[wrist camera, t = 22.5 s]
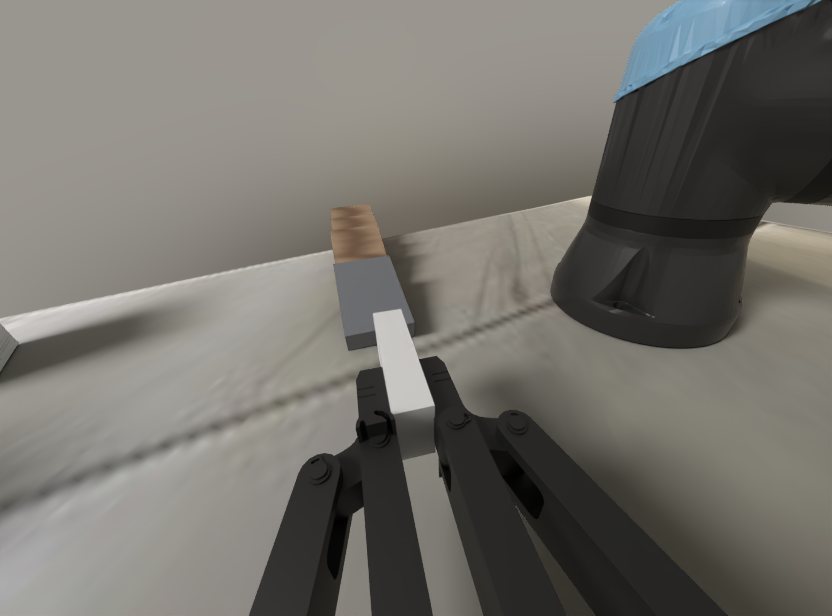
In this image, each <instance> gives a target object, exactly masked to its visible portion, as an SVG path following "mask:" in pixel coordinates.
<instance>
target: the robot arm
mask: <svg viewBox="0 0 832 616" xmlns="http://www.w3.org/2000/svg"><path fill="white" fill-rule="evenodd" d="M614 103H616V106H615V110H614V114H613V118H612V123H611V126H610V130H609V134H608V138H607V142H606V145H605V150H604V153H603V157H602V161H601V165H600V168H599V172H598V176H597V179H596V183H595V187H594V191H593V194H592V198H591V202H590V206H589V210H588V214H587V217H586V220H585V223H584V224H583V226H582V228H581V229H580V231H579V232H578V234H577V236H576V237H575V239H574V240H573V242H572V243H571V245H570V247H569V248H568V250H567V252H566V253H565V255H564V257H563V258H562V260H561V262H560V263H559V264H558V266H557V267H556V269H555V272H554V276H553V280H552V285H551V296H552V298H553V300H554V302H555V303H556V304H557V305H558V306H559V307H560V308H561V309H562V310H563V311H564V312H565V313H566V314H568V315H569V316H571V317H572V318H574V319H575V320H577V321H579V322H580V323H582V324H584V325H586V326H588V327H590V328H593V329H595V330H597V331H600V332H602V333H605V334H608V335H611V336H614V337H617V338H620V339H624V340H628V341H632V342H636V343H641V344H646V345H653V346H661V347H674V348H688V347H699V346H705V345H709V344H712V343H715V342H718V341H720V340H721V339H723V338H724V337H725V336H726V335H727V334H728V332H729V330H730V329H731V327H732V326H733V324H734V323H735V321H736V319H737V318H738V316H739V314H740V312H741V308H742V300H741V296H740V294H741V290H742V285H743V279H744V273H745V266H746V258H747V250H748V244H749V241H750V239H751V237H752V235H753V233H754V231H755V229H756V228H757V226H758V224H759V222H760V220H761V219H762V217H763V215H764V213H765V212H766V211H767V209H768V208H769V207H770V205H771V204H772V203H776V202H784V203H800V204H814V205H827V206H828V205H829V206H832V0H681V1H679V2H677V3H675V4H673V5H672V6H670V7H668V8H667V9H665V10H664V11H662V12H661V13H660V14H658V15H657V16H656V17H655V18H654V19H652V20H651V21H650V22H649V23H648V24H647V25H646V26H645V28H644V29H643V30H642V31H641V33H640V34H639V35H638V37H637V39H636V40H635V42H634V45H633V47H632V50H631V54H630V56H629V60H628V63H627V66H626V69H625V73H624V76H623V79H622V82H621V86H620V89H619V92H618V93H617V94H616V95H615V97H614ZM373 318H374V325H375V332H376V339H377V346H378V353H379V359H380V364H381V367H379V368H373V369H368V370H363V371H360V373H359V375H358V377H357V379H356V385H357V398H358V412H359V419H358V420H357V423H356V431H357V436H358V437H357V439H356V440H355V442H354V443H353V444H352V445H351V446H350V447H349V448H347V449H346V450H344V451H343V452H341V453H339V454H337V455H335V456H333V455H332V454H326V453H323V454H318V455H316V456H314V457H312V458H310V459H309V460H308V461H307V462H306V463H305V464H304V465H303V466H302V468H301V470H300V472H299V474H298V476H297V479H296V482H295V485H294V488H293V491H292V494H291V496H290V499H289V502H288V505H287V508H286V511H285V514H284V517H283V519H282V522H281V525H280V528H279V531H278V534H277V537H276V539H275V542H274V545H273V548H272V551H271V554H270V557H269V560H268V562H267V565H266V568H265V571H264V574H263V577H262V580H261V582H260V585H259V588H258V591H257V594H256V597H255V600H254V603H253V605H252V608H251V611H250V614H249V616H335V612H336V606H337V601H338V595H339V589H340V584H341V578H342V572H343V566H344V561H345V555H346V549H347V543H348V538H349V532H350V526H351V521H352V515H353V513H355V512H356V511H358V510H359V509H361V508H362V507H364V515H365V528H366V542H367V556H368V569H369V583H370V597H371V610H372V616H433V614H432V608H431V603H430V598H429V593H428V588H427V583H426V578H425V573H424V568H423V563H422V558H421V553H420V548H419V543H418V538H417V533H416V528H415V523H414V518H413V512H412V507H411V502H410V497H409V492H408V487H407V482H406V477H405V472H404V467H403V462H402V460H405V459H409V458H413V457H417V456H421V455H425V454H430V453H434V452H435V446H436V449H437V453H438V456H439V478H440V477H443V481H444V484H445V487H446V491H447V494H448V497H449V501H450V504H451V507H452V511H453V514H454V518H455V521H456V524H457V528H458V531H459V534H460V538H461V541H462V544H463V548H464V551H465V555H466V558H467V561H468V565H469V568H470V571H471V575H472V578H473V581H474V585H475V588H476V592H477V595H478V598H479V602H480V605H481V608H482V612H483V615H484V616H566V614H565V612H564V609H563V607H562V605H561V603H560V601H559V599H558V597H557V594H556V592H555V590H554V588H553V586H552V584H551V582H550V579H549V577H548V575H547V573H546V571H545V569H544V567H543V564H542V562H541V560H540V558H539V556H538V554H537V552H536V549H535V547H534V545H533V543H532V541H531V539H530V537H529V534H528V532H527V530H526V528H525V526H524V524H523V522H522V519H521V517H520V515H519V513H518V511H517V509H516V507H515V504H516V506H517V507H518V508H519V510H520V511H521V513H522V514H523V515H524V517H525V518H526V520H527V521H528V522H529V524H530V525H531V526H532V528H533V529H534V531H535V532H536V533H537V535H538V536H539V537H540V539H541V540H542V542H543V543H544V544H545V546H546V547H547V548H548V550H549V551H550V553H551V554H552V555H553V557H554V558H555V559H556V561H557V562H558V564H559V565H560V566H561V568H562V569H563V571H564V572H565V573H566V575H567V576H568V577H569V579H570V580H571V582H572V583H573V584H574V586H575V587H576V588H577V590H578V591H579V593H580V594H581V595H582V597H583V598H584V599H585V601H586V602H587V604H588V605H589V606H590V608H591V609H592V610H593V612H594V613H595V615H596V616H728V615H727V614H726V613H725V612H724V611H723V610H722V609H721V608H720V607H719V606H718V605H717V604H716V603H715V602H714V601H713V600H712V599H711V598H710V597H709V596H708V595H707V594H706V593H705V592H704V591H703V590H702V589H701V588H700V587H699V586H698V585H697V584H696V583H695V582H694V581H693V580H692V579H691V578H690V577H689V576H688V575H687V574H686V573H685V572H684V571H683V570H682V569H681V568H680V567H679V566H678V565H677V564H676V563H675V562H674V561H673V560H672V559H671V558H670V557H669V556H668V555H667V554H666V553H665V552H664V551H663V550H662V549H661V548H660V547H659V546H658V545H657V544H656V543H655V542H654V541H653V540H652V539H651V538H650V537H649V536H648V535H647V534H646V533H645V532H644V531H643V530H642V529H641V528H640V527H639V526H638V525H637V524H636V523H635V522H634V521H633V520H632V519H631V518H630V517H629V516H628V515H627V514H626V513H625V512H624V511H623V510H622V509H621V508H620V507H619V506H618V505H617V504H616V503H615V502H614V501H613V500H612V499H611V498H610V497H609V496H608V495H607V494H606V493H605V492H604V491H603V490H602V489H601V488H600V487H599V486H598V485H597V484H596V483H595V482H594V481H593V480H592V479H591V478H590V477H589V476H588V475H587V474H586V473H585V472H584V471H583V470H582V469H581V468H580V467H579V466H578V465H577V464H576V463H575V462H574V461H573V460H572V459H571V458H570V457H569V456H568V455H567V454H566V453H565V452H564V451H563V450H562V449H561V448H560V447H559V446H558V445H557V444H556V443H555V442H554V441H553V440H552V439H551V438H550V437H549V436H548V435H547V434H546V433H545V432H544V431H543V430H542V429H541V428H540V427H539V426H538V425H537V424H536V423H535V422H534V421H533V420H532V419H531V418H530V417H529V416H527V415H526V414H525V413H522V412H520V411H516V410H509V411H505V412H503V413H502V414H501V415H499V418H498V419H497V418H484V417H479V416H476V415H474V414H472V413H470V412H469V411H468V410H467V409H466V408H465V407H464V405H463V403H462V401H461V399H460V397H459V394H458V392H457V390H456V388H455V386H454V383H453V381H452V380H451V377H450V375H449V373H448V370H447V368H446V366H445V364H444V362H443V361H442V360H440V359H439V358H438V357H437V356H434V357H429V358H423V359H418V356H417V353H416V350H415V348H414V345H413V342H412V339H411V336H410V333H409V330H408V328H407V325H406V322H405V319H404V316H403V313H402V310H401V309H397V310H391V311H384V312H378V313H373ZM514 503H515V504H514Z"/></svg>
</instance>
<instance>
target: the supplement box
mask: <svg viewBox="0 0 832 616" xmlns="http://www.w3.org/2000/svg"><path fill="white" fill-rule="evenodd" d="M18 343H19V342H18V341H16V340H15V339H14V338H13V336H12V335H11V334H10V333H9V332H8V331H7V330H6V329H5V328H4V327H3V326H2V325H1V324H0V371H1V370H2V368H3V367H4V365H5V363H6V362H7V360H8V359H9V357H10V356H11V354H12V353H13V351H14V350H15V348H16V346H17V345H18Z"/></svg>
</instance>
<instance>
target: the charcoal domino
mask: <svg viewBox="0 0 832 616" xmlns="http://www.w3.org/2000/svg"><path fill="white" fill-rule="evenodd" d="M333 265H334V271H335V277H336V284H337V290H338V296H339V302H340V308H341V314H342V321H343V327H344V333H345V338H346V343H347V347H348V351H350V350H354V349H359V348H364V347H368V346H373V345H377V339H376V332H375V325H374V318H373V313H378V312H384V311H391V310H397V309H401V310H402V313H403V316H404V319H405V322H406V325H407V328H408V330H409V333H410V336H411V337H414V326H415V322H414V319H413V317H412V314H411V311H410V309H409V306H408V304H407V301H406V298H405V296H404V293H403V290H402V288H401V285H400V282H399V280H398V277H397V275H396V272H395V269H394V267H393V264H392V261H391V259H390V256H382V257H375V258H369V259H362V260H356V261H349V262H343V263H336V264H333Z"/></svg>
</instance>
